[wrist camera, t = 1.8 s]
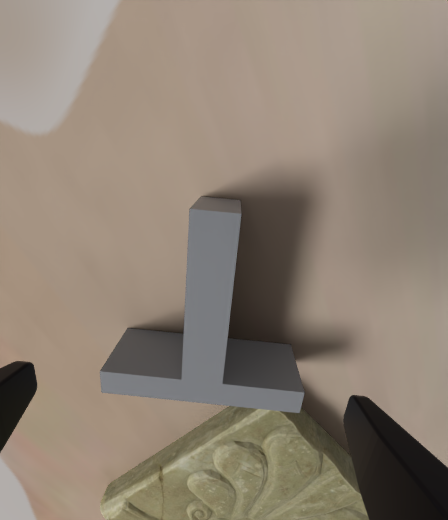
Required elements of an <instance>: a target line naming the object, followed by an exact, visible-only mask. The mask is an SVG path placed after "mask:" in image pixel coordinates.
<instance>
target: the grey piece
mask: <svg viewBox="0 0 448 520" xmlns="http://www.w3.org/2000/svg"><path fill="white" fill-rule="evenodd" d="M240 223H241V201H240V200H234V199H224V198H214V197H203V196H201V197H200V198H199V199H198V200H197V201H196V202H195V203H194V205H193V206H192V207H191V208H190V211H189V232H188V253H187V274H186V295H185V316H184V334H181V333H172V332H162V331H152V330H142V329H132V328H127V330H126V331H125V333H124V335H123V336H122V338H121V339H120V341H119V342H118V344H117V345H116V347H115V349H114V350H113V352H112V353H111V355H110V356H109V358H108V359H107V361H106V363H105V364H104V366H103V367H102V369H101V370H100V379H101V392H102V393H112V394H121V395H131V396H140V397H150V398H159V399H169V400H179V401H188V402H198V403H207V404H217V405H226V406H236V407H245V408H255V409H264V410H274V411H283V412H293V413H300V410H301V405H302V401H303V397H304V393H305V392H304V389H303V385H302V382H301V378H300V375H299V371H298V368H297V364H296V361H295V357H294V354H293V350H292V347H291V345H290V344H280V343H270V342H261V341H251V340H241V339H231V338H228V330H229V321H230V312H231V303H232V294H233V285H234V276H235V267H236V258H237V249H238V240H239V232H240Z"/></svg>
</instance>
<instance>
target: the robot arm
mask: <svg viewBox="0 0 448 520" xmlns="http://www.w3.org/2000/svg"><path fill="white" fill-rule="evenodd" d="M36 390H37V380H36V375H35V369H34V365H33V364H32V363H31V362H24V361H15V362H13V363H11V364H9V365H6V366H4V367H2V368H0V452H1V451H2V449H3V447H4V446H5V444H6V442H7V441H8V439H9V437H10V436H11V434H12V432H13V431H14V429H15V427H16V425H17V424H18V422H19V420H20V419H21V417H22V415H23V413H24V412H25V410H26V408H27V407H28V405H29V403H30V401H31V400H32V398H33V396H34V395H35V392H36ZM343 422H344V428H345V433H346V437H347V441H348V445H349V450H350V454H351V458H352V462H353V467H354V471H355V475H356V479H357V483H358V487H359V490H360V493H361V497H362V500H363V503H364V506H365V509H366V512H367V515H368V518H369V520H448V467H446V466H445V465H444V464H443V463H442V462H441V461H440V460H438V459H437V458H436V457H435V456H434V455H433V454H432V453H430V452H429V451H428V450H427V449H426V448H425V447H424V446H423V445H421V444H420V443H419V442H418V441H417V440H416V439H415V438H413V437H412V436H411V435H410V434H409V433H408V432H407V431H405V430H404V429H403V428H402V427H401V426H400V425H399V424H398V423H396V422H395V421H394V420H393V419H392V418H391V417H390V416H388V415H387V414H386V413H385V412H384V411H383V410H382V409H380V408H379V407H378V406H377V405H376V404H375V403H374V402H373V401H371V400H370V399H369V398H368V397H365V396H358V395H352V396H351V397H350V398H349V401H348V404H347V407H346V411H345V414H344V419H343Z"/></svg>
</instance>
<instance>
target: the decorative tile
mask: <svg viewBox="0 0 448 520" xmlns="http://www.w3.org/2000/svg"><path fill="white" fill-rule="evenodd" d="M100 510H101V513H102V515H103V516H104V517H105V519H107V520H369V518H368V515H367V512H366V509H365V506H364V503H363V500H362V497H361V493H360V490H359V487H358V483H357V479H356V475H355V471H354V467H353V462H352V458H351V456H350V455H349V454H348V453H347V452H346V451H345V450H344V449H343V448H342V447H341V446H340V445H339V444H338V443H337V442H336V441H335V440H334V439H333V438H332V437H331V436H330V435H329V434H328V433H327V432H326V431H325V430H324V429H323V428H322V427H321V426H320V425H319V424H318V423H317V422H316V421H315V420H314V419H313V418H312V417H311V416H310V415H308V414H307V413H306V412H305V411H304V410H303V409H302V408H301V410H300V413H293V412H283V411H274V410H264V409H255V408H245V407H236V406H229V407H227V408H226V409H224V410H223V411H221V412H220V413H218V414H217V415H215V416H213V417H212V418H210V419H209V420H207V421H206V422H204V423H203V424H201V425H200V426H198V427H196V428H195V429H193V430H192V431H190V432H189V433H187V434H186V435H184V436H183V437H181V438H180V439H178V440H176V441H175V442H173V443H172V444H170V445H169V446H167V447H166V448H164V449H163V450H161V451H159V452H158V453H156V454H155V455H153V456H152V457H150V458H148V459H147V460H145V461H144V462H142V463H141V464H139V465H138V466H136V467H135V468H133V469H132V470H130V471H128V472H127V473H125V474H124V475H122V476H121V477H119V478H118V479H116V480H114V481H113V482H111V483H110V484H109V485H108V487H107V489H106V491H105V493H104V496H103V498H102V500H101V504H100Z"/></svg>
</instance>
